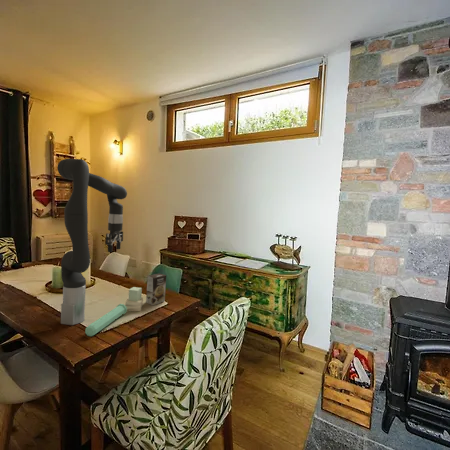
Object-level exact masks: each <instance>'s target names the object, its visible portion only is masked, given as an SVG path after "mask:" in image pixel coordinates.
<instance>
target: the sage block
mask: <svg viewBox="0 0 450 450" xmlns="http://www.w3.org/2000/svg"><path fill="white" fill-rule="evenodd" d="M142 291H143V288H142V287H138V286H137V287H136V286H133V287H130V288H129V289H128V297H129V298H128V297H127V298H128V300H129V301H136V302H137V301H139V300H140V299H141V297H142V295H143V294H142V293H143V292H142Z"/></svg>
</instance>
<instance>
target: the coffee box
mask: <svg viewBox="0 0 450 450" xmlns="http://www.w3.org/2000/svg"><path fill="white" fill-rule="evenodd" d="M146 284H147V285H146V297H145V298H146V299H145V303H146V304H149V305H151V306H155V305H158V304H161V302H162V303H165V302H166V301H165V300H166V285H167V275H166V274H163V273H154V274H149V275H147V283H146Z"/></svg>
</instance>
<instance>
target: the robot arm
mask: <svg viewBox="0 0 450 450" xmlns="http://www.w3.org/2000/svg"><path fill="white" fill-rule="evenodd" d="M57 172H58V174H59V175H60V176H61V178H63V179H65V180H69V181H73V182H72V183H73V184H72V187H73V188H72V192H71V194H70V197H69V199H68V201H67V202H66V204H65V207H64V211H63V214H64V215H63V216H64V217H63V218H64V226H65V229H66V231H67V234H68V236H69V238H70V240H71V245H72V250H68V251H67V252H65V253H64V255H63V256H62V257H61V261H60V262H61V265H60V268H61V269H60V271H61V272H60V273H61V276H60V277H61V281H62V283H63V284H62V303H61V304H60V305H61V306H60V324H61V325H67V326H75V325H77V324H81V323H82V322H84V321H85V310H86V287H87V286H86V283H87V279H86V278H85V277H84V275H83V274H82V273H85V272H86V271H88V269H89V267H90V265H91V255H90V254H91V253H90V247H89V228H88V224H89V223H88V220H89V219H88V218H89V217H88V216H89V215H88V214H89V213H88V190H89V187H90V188H92V189H94V190H96V191H98V192H100V193H102V194H104V195H106V197H107V201H108V207H109V212H108V220H107V221H108V222H107V230H108V231H110V232H109V233H106V234H105V245H107V252H108V253H112V252H113V248H114V247H113V244H114V242H116V243H115V244H116V247H115V249H116V250H120V249H121V244H122V242H124V231H123V223H124V216H123V214H124V206H123V204H122V203H119V202H118V200H125V199H126V197H127V196H128V191H127V189H126V187H124V186H122V185H119V184H116V183H113V182H111V181H110V180H109V179H107V178H104V177H102V176H101V175H97V174H94V173H90V168H89V165H88V162H86V160H84V159H81V158H63V159H61V160H60V161H59V162H58V163H57Z"/></svg>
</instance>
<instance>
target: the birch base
mask: <svg viewBox="0 0 450 450" xmlns="http://www.w3.org/2000/svg"><path fill="white" fill-rule="evenodd" d="M128 298H129V296H127V298H126V301H125V302H124V303H125V304H124V305H125V306H126V307H127V312H141V311H142V307H143V305H144V304H143V301H144V297H143V296H141V299H140V300H139V301H137V302H136V301H129V300H128Z"/></svg>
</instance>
